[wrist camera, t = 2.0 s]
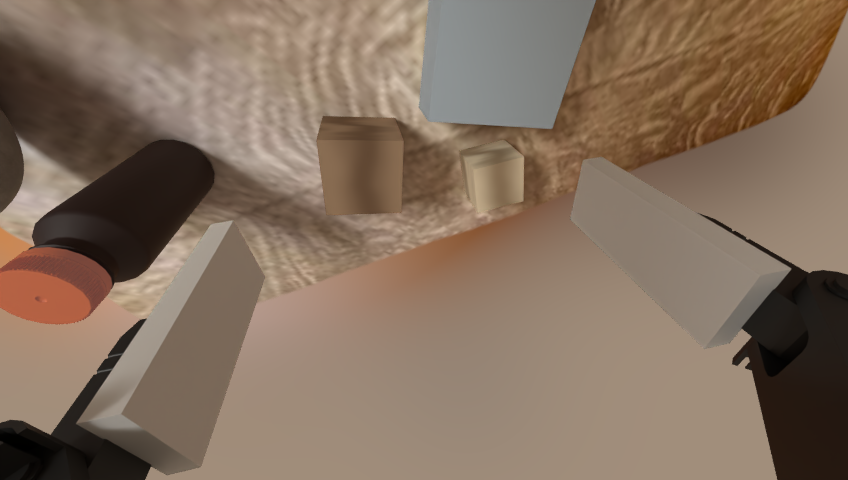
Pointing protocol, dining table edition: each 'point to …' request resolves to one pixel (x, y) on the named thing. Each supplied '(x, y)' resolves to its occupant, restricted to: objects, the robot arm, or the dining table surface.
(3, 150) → the grey round disc
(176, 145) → the bottle
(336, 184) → the walnut cube
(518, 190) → the maple cube
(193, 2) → the dining table surface
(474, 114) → the slate block
